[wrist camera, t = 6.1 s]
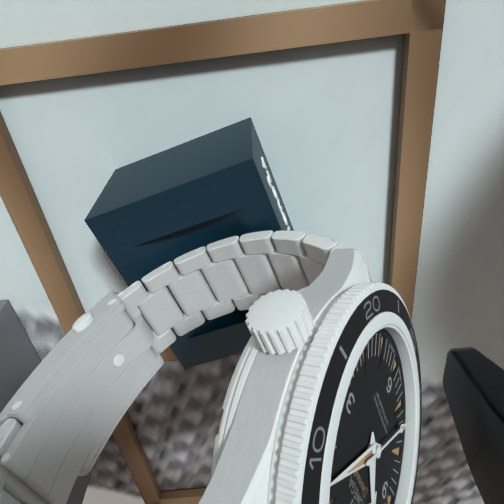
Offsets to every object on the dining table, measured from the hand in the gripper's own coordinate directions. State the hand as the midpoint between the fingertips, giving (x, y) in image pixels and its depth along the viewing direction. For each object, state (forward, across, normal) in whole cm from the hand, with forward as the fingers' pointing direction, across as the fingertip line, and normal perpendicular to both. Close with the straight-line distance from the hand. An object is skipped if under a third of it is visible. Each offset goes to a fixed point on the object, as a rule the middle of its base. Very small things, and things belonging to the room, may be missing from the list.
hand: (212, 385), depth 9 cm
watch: (+7, 0, 0) cm, 7 cm away
